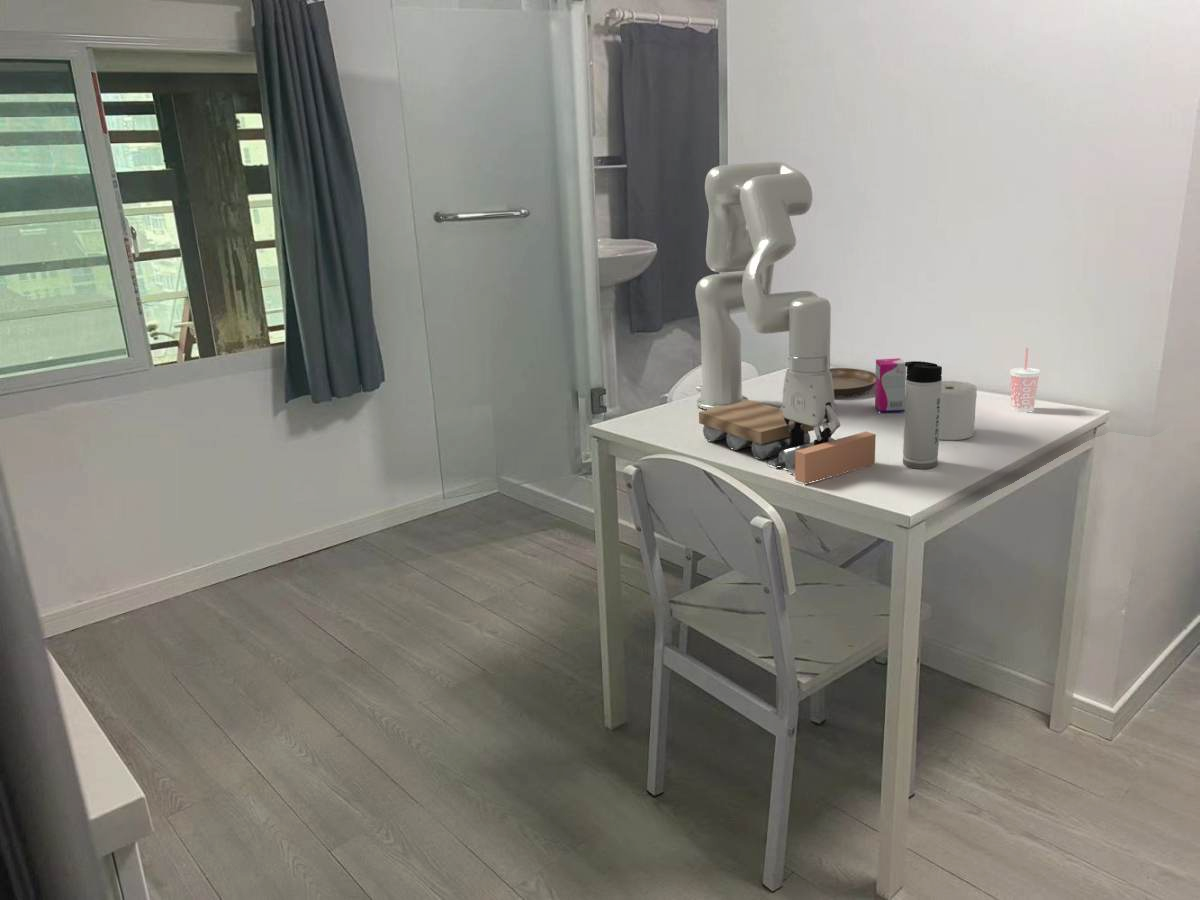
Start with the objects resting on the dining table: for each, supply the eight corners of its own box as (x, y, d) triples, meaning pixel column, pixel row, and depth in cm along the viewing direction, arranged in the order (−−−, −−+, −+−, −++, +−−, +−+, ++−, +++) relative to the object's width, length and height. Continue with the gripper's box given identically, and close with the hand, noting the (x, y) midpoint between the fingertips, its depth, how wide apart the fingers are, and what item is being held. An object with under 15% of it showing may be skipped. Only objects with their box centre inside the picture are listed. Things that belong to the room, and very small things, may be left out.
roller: (823, 453, 185) (825, 434, 183) (837, 460, 182) (839, 441, 180) (777, 466, 179) (779, 447, 177) (791, 473, 176) (793, 454, 174)
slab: (699, 423, 197) (698, 411, 196) (750, 411, 204) (749, 400, 203) (760, 444, 180) (760, 432, 180) (813, 430, 187) (814, 418, 186)
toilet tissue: (978, 440, 187) (982, 393, 184) (916, 441, 189) (919, 393, 186) (968, 425, 197) (971, 380, 194) (909, 426, 199) (911, 381, 196)
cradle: (768, 466, 180) (768, 461, 180) (821, 451, 187) (821, 446, 186) (795, 476, 174) (795, 470, 173) (849, 460, 180) (849, 455, 180)
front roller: (751, 456, 185) (751, 437, 184) (796, 444, 191) (796, 426, 190) (764, 461, 182) (764, 442, 181) (810, 449, 188) (810, 430, 187)
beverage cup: (1007, 413, 204) (1012, 350, 200) (1007, 405, 209) (1011, 345, 205) (1037, 414, 202) (1043, 351, 197) (1036, 406, 207) (1041, 345, 203)
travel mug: (895, 460, 178) (899, 359, 172) (928, 457, 179) (933, 356, 173) (908, 471, 172) (913, 366, 166) (943, 467, 173) (948, 363, 167)
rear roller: (703, 439, 199) (702, 421, 197) (746, 428, 204) (746, 410, 203) (714, 443, 195) (714, 425, 194) (758, 432, 201) (758, 414, 200)
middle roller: (726, 447, 192) (726, 429, 191) (770, 436, 198) (770, 418, 196) (738, 452, 189) (738, 433, 187) (783, 440, 194) (783, 422, 193)
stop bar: (795, 481, 171) (795, 450, 169) (864, 460, 179) (865, 431, 178) (804, 485, 169) (804, 454, 167) (874, 463, 177) (875, 434, 176)
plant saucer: (836, 405, 219) (837, 391, 218) (777, 390, 236) (777, 377, 235) (896, 389, 230) (896, 376, 229) (835, 376, 246) (835, 364, 245)
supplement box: (899, 405, 215) (901, 357, 211) (905, 412, 209) (907, 363, 206) (874, 406, 215) (875, 358, 212) (878, 413, 210) (880, 364, 206)
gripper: (764, 360, 179) (764, 448, 185) (827, 374, 165) (826, 469, 171) (793, 354, 183) (792, 440, 188) (857, 367, 169) (855, 460, 174)
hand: (808, 453), depth 179 cm, fingers open, 6 cm apart
